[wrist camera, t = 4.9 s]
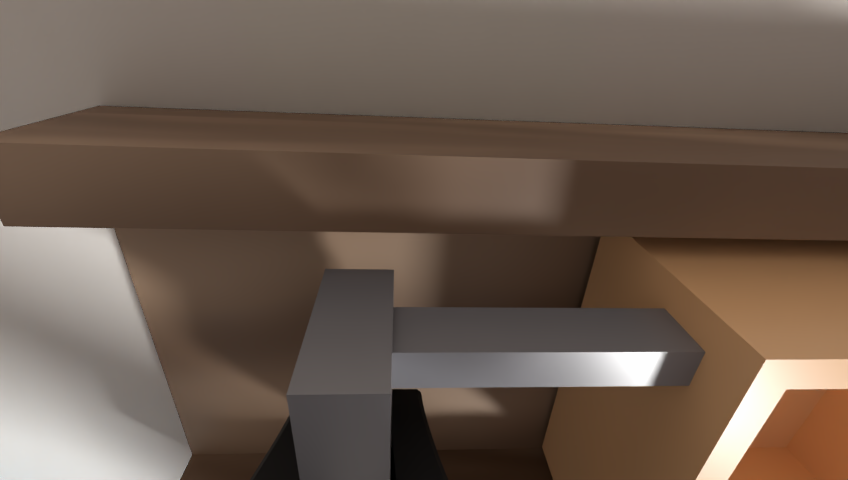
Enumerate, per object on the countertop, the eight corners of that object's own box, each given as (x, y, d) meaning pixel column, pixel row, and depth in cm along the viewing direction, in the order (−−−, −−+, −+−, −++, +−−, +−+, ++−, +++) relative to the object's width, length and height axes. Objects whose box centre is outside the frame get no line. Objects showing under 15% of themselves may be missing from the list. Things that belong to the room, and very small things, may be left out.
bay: (1012, 443, 18) (1327, 658, 12) (210, 460, 15) (89, 737, 9) (1338, 151, 12) (2336, 282, 6) (98, 105, 9) (-440, 247, 3)
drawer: (780, 442, 15) (944, 621, 10) (351, 450, 14) (327, 653, 9) (933, 221, 11) (1318, 362, 6) (336, 209, 10) (281, 367, 5)
